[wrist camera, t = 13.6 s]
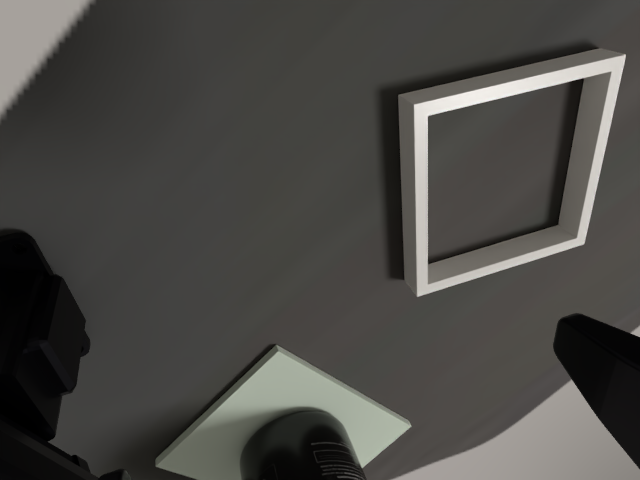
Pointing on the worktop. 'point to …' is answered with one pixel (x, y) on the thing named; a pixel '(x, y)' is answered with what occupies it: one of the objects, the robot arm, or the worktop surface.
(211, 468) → the mat
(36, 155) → the worktop surface
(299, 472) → the supplement bottle
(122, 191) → the worktop surface
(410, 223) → the white square frame
